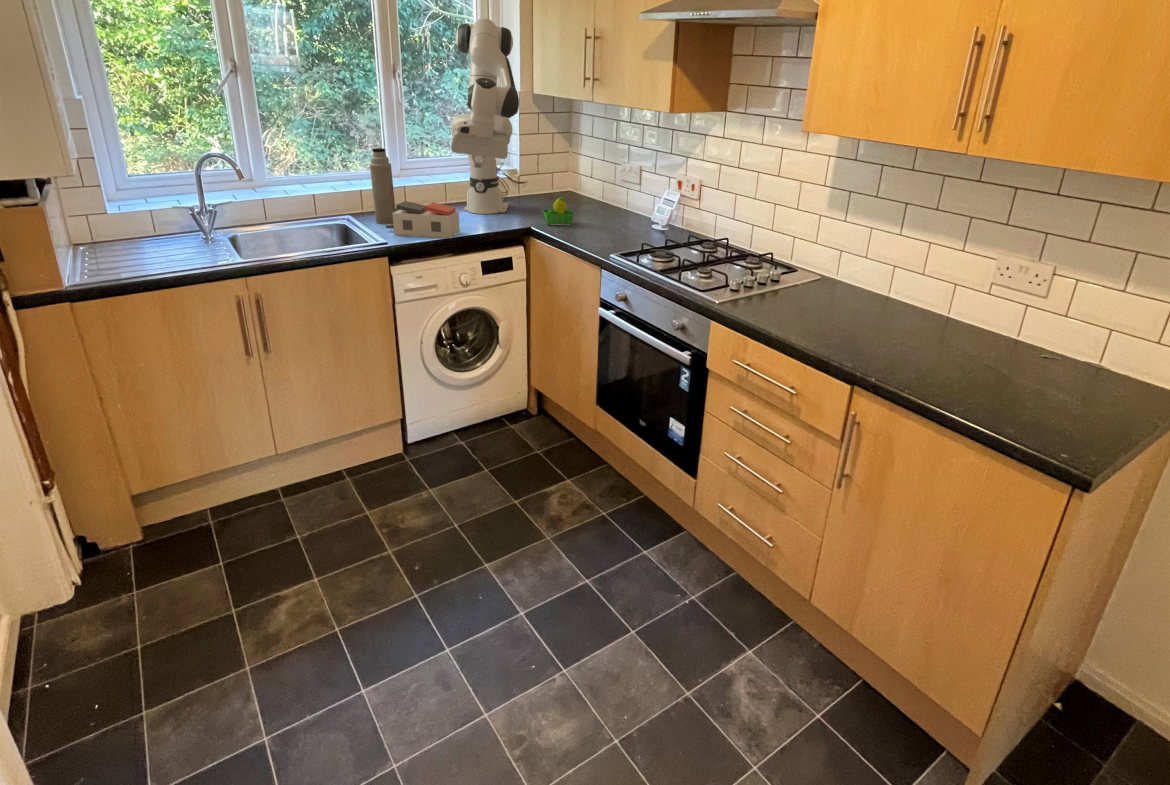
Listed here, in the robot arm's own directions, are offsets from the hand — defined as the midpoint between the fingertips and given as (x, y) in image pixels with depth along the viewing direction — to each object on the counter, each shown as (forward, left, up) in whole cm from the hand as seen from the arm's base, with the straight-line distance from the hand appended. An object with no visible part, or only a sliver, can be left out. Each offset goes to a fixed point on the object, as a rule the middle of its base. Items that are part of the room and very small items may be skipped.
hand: (477, 167), depth 259 cm
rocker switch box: (+5, -22, -24) cm, 33 cm away
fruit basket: (-22, +26, -25) cm, 42 cm away
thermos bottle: (-10, -42, -24) cm, 50 cm away
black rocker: (+5, -25, -16) cm, 30 cm away
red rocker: (+5, -14, -16) cm, 22 cm away
